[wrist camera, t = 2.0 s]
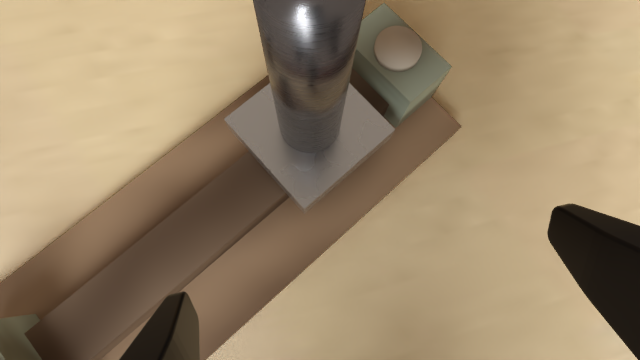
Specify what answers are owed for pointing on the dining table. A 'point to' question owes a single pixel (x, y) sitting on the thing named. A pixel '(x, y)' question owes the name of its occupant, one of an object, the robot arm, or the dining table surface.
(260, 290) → the board
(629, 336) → the robot arm
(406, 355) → the dining table surface
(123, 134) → the dining table surface
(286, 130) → the carriage
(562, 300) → the dining table surface
